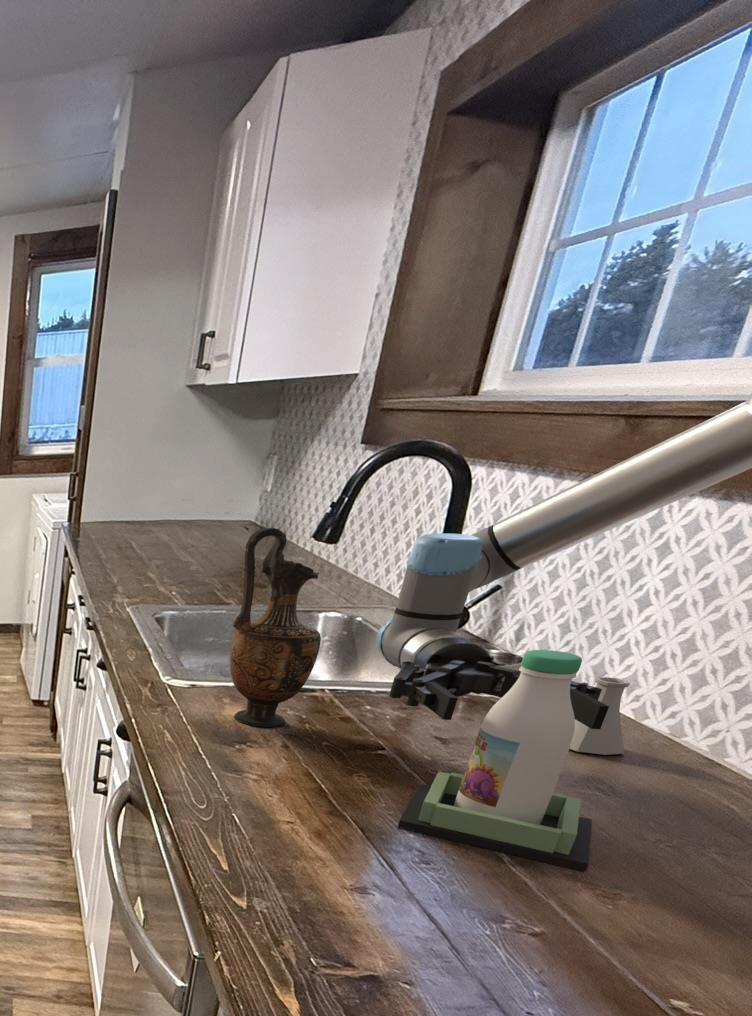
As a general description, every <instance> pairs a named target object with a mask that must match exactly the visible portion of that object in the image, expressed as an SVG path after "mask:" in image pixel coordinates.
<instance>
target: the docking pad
mask: <svg viewBox="0 0 752 1016" xmlns="http://www.w3.org/2000/svg"><path fill="white" fill-rule="evenodd" d="M463 776H464V773H457V772H451V773H448V772H444V771H438V772H437V774H436V776H435V778H434V780H433V782H432V784H431V785H429V784H424V783H418V785H417V786H416V788H415V790H414V792H413V794H412V796H411V798H410V800H409V802H408V804H407V806H406V808H405V809H404V811H403V813H402V815H401V817H400V818H399V821H398V825H397V828H399V827H402V828H401V829H403V828H405V829H404V830H407V829H409V830H408V831H411V830H413V831H412V832H415V831H416V832H415V833H419V834H424V835H428V836H432V837H437V838H440V839H441V838H442V839H446V840H449V841H453V842H458V843H462V844H467V845H471V846H474V847H479V848H484V849H487V850H492V851H496V852H500V853H504V854H507V855H513V856H516V855H517V856H518V857H520V858H525V859H530V860H532V861H533V860H534V861H538V862H542V863H547V864H550V865H554V866H559V867H563V868H567V869H572V870H576V871H580V872H586V870H587V868H588V866H589V861H590V860H589V858H590V848H591V847H590V846H591V838H592V837H591V835H592V824H593V819H592V818H589V817H583V816H580V811H581V802H582V799H581V798H576V797H572V796H568V794H566V793H565V794H564V793H560V792H554V791H553V794H552V796H551V799H550V801H549V804H548V806H547V809H546V812H545V814H544V817H543V819H542V821H541V823H540V825H538V824H534V823H529V822H524V821H520V820H515V819H510V818H506V817H501V816H496V815H492V814H487V813H483V812H478V811H473V810H469V809H464V808H459V807H455V806H454V803H455V800H456V797H457V794H458V791H459V788H460V785H461V782H462V779H463Z"/></svg>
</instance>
